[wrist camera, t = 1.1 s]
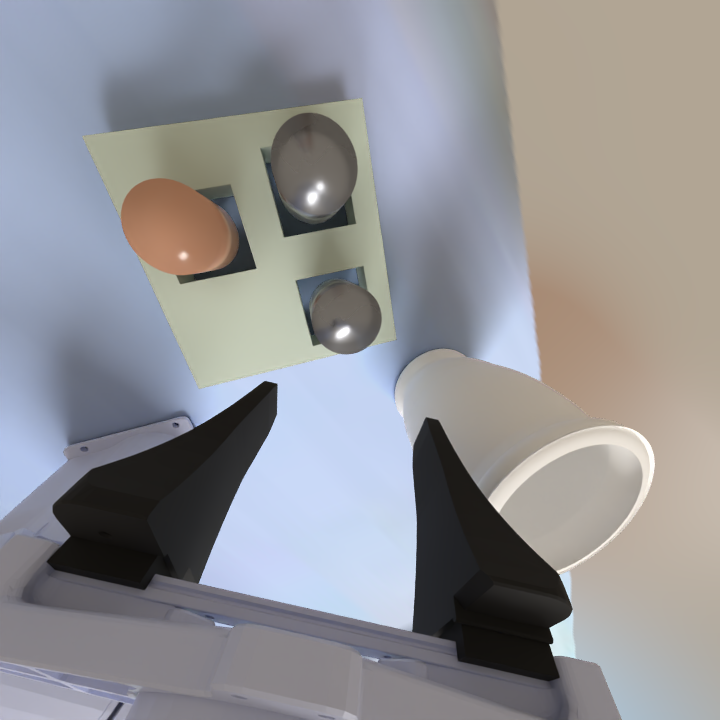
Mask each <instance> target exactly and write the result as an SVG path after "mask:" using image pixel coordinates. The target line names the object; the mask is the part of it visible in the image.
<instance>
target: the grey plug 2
mask: <svg viewBox="0 0 720 720" xmlns="http://www.w3.org/2000/svg"><path fill="white" fill-rule="evenodd" d="M309 311H310V316H311V321H312V326H313V330H314V333H315V335H316V337H317V339H318V340H319V342H320V343H321V344H322V345H323V346H324V347H325V348H327V349H328V350H330V351H332V352H335V353H339V354H353V353H357V352H360V351H362V350H364V349H365V348H367V347H368V346H369V345H370V344H371V343H372V342H373V341H374V340H375V339H376V337H377V335H378V333H379V331H380V328H381V322H382V315H381V309H380V306H379V304H378V302H377V300H376V299H375V298H374V296H373V295H372V294H371V293H370V292H368V291H367V290H365V289H364V288H362V287H360V286H358V285H356V284H354V283H352V282H350V281H347V280H344V279H330V280H327V281H325V282H323V283H321V284H320V285H319V286H318V287H317V288H316V289H315V290H314V292H313V294H312V296H311V298H310V303H309Z"/></svg>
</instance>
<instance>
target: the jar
mask: <svg viewBox="0 0 720 720" xmlns="http://www.w3.org/2000/svg"><path fill="white" fill-rule="evenodd" d="M395 404H396V407H397V409H398V411H399V413H400V414H401V416H402V417H403V418H404V424H405V429H406V432H407V435H408V438H409V440H410V443H411V446H412V450H413V445H414V443H415V440H416V438H417V436H418V434H419V431H420V429H421V427H422V424H423V422H424V420H425V418H426V417H428V418H433V419H437V420H439V422H440V423H441V425H442V427H443V429H444V431H445V433H446V435H447V437H448V439H449V441H450V442H451V444H452V446H453V448H454V450H455V451H456V453H457V455H458V457H459V458H460V460H461V462H462V463H463V465H464V467H465V468H466V470H467V471H468V473H469V474H470V476H471V477H472V479H473V480H474V482H475V483H476V485H477V486H478V487H479V489H480V490H481V491H482V493H483V494H484V495H485V497H486V498H487V499H488V501H489V502H490V503H491V504H492V506H493V507H494V508H495V509H496V510H497V512H498V513H499V514H500V515H501V516H502V517H503V519H504V520H505V521H506V522H507V523H508V524H509V525H510V526H511V527H512V529H513V530H514V531H515V532H516V533H517V534H518V535H519V536H520V537H521V538H522V539H523V540H524V541H525V542H526V543H527V544H528V545H529V546H530V547H531V548H532V549H533V550H534V551H535V552H536V553H537V554H538V555H539V556H540V557H541V558H542V559H544V560H545V561H546V562H547V563H548V564H549V565H550V566H551V567H552V568H553V569H554V570H555V571H556V572H557V573H558V574H559V575H560V574H562V573H564V572H567V571H569V570H571V569H573V568H574V567H576V566H578V565H580V564H581V563H583V562H585V561H586V560H588V559H589V558H591V557H592V556H594V555H595V554H596V553H598V552H599V551H600V550H601V549H603V548H604V547H605V546H606V545H607V544H609V543H610V542H611V541H612V540H613V539H614V538H615V537H616V536H617V535H618V534H619V533H620V532H621V531H622V530H623V529H624V528H625V527H626V526H627V525H628V523H629V522H630V521H631V519H632V518H633V517H634V516H635V514H636V513H637V511H638V510H639V508H640V507H641V505H642V503H643V501H644V500H645V498H646V496H647V493H648V491H649V489H650V486H651V483H652V479H653V475H654V466H655V464H654V463H655V462H654V454H653V451H652V448H651V446H650V444H649V443H648V441H647V440H646V439H645V438H644V437H643V436H642V435H641V434H639V433H638V432H636V431H634V430H632V429H629V428H627V427H625V426H624V425H622V424H620V423H617V422H614V421H611V420H607V419H602V418H591V417H590V416H589V415H588V414H587V413H585V412H584V411H583V410H582V409H581V408H580V407H578V406H577V405H576V404H574V403H573V402H572V401H570V400H569V399H568V398H566V397H565V396H563V395H562V394H560V393H559V392H557V391H556V390H554V389H553V388H551V387H549V386H547V385H546V384H544V383H542V382H540V381H538V380H536V379H534V378H532V377H530V376H528V375H526V374H523V373H521V372H518V371H515V370H513V369H510V368H506V367H503V366H499V365H495V364H492V363H489V362H486V361H483V360H479V359H474V358H467V357H466V356H465V355H463V354H462V353H460V352H458V351H455V350H451V349H436V350H431V351H428V352H426V353H424V354H422V355H420V356H418V357H417V358H415V359H414V360H413V361H411V362H410V363H409V364H408V365H407V366H406V368H405V369H404V370H403V372H402V373H401V375H400V377H399V379H398V381H397V384H396V388H395Z"/></svg>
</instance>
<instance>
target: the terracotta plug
mask: <svg viewBox="0 0 720 720" xmlns="http://www.w3.org/2000/svg"><path fill="white" fill-rule="evenodd" d="M121 222H122V227H123V231H124V234H125V236H126V239H127V240H128V242H129V244H130V246H131V247H132V248H133V250H134V251H135V252H136V253H137V255H138V256H139V257H141V258H142V259H143V260H144V261H145V262H146V263H148V264H149V265H151V266H152V267H154V268H156V269H158V270H160V271H163V272H166V273H169V274H174V275H190V274H196V273H202V272H208V271H214V270H219V269H222V268H224V267H226V266H227V265H229V264H230V263H231V262H232V261H233V259H234V258H235V256H236V254H237V252H238V248H239V234H238V230H237V228H236V225H235V223H234V221H233V220H232V218H231V217H230V216H229V214H228V213H227V212H226V211H225V210H224V209H223V208H221V207H220V206H219V205H217V204H215V203H214V202H212V201H211V200H209V199H208V198H206V197H204V196H203V195H201V194H200V193H198V192H197V191H195V190H193V189H192V188H190V187H188V186H187V185H185V184H183V183H180V182H178V181H175V180H171V179H165V178H155V179H149V180H145V181H143V182H141V183H139V184H137V185H136V186H134V187H133V188H132V189H131V190H130V191H129V193H128V194H127V195H126V197H125V199H124V202H123V205H122V210H121Z"/></svg>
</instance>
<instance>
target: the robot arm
mask: <svg viewBox="0 0 720 720" xmlns="http://www.w3.org/2000/svg"><path fill="white" fill-rule="evenodd" d="M276 415H277V384H276V383H272V382H267V381H264V382H263V383H261V384H260V385H259V386H257V387H256V388H255V389H253V390H252V391H251V392H249V393H248V394H247V395H245V396H244V397H243V398H241V399H240V400H238V401H237V402H236V403H234V404H233V405H231V406H230V407H228V408H227V409H225V410H224V411H222V412H221V413H219V414H218V415H216V416H214V417H213V418H211V419H210V420H208V421H206V422H204V423H203V424H201V425H199V426H197V427H195V428H194V427H193V425H192V423H191V421H190V420H189V418H187V417H185V416H181V417H177V418H173V419H169V420H166V421H162V422H158V423H154V424H150V425H146V426H142V427H138V428H135V429H131V430H127V431H123V432H119V433H115V434H111V435H108V436H104V437H100V438H96V439H92V440H88V441H84V442H80V443H77V444H73V445H69V446H68V447H66V448H65V449H64V451H63V453H64V455H65V456H66V457H67V459H68V461H67V462H66V463H65V464H64V465H63V466H62V467H60V468H59V469H58V470H57V471H56V472H55V473H54V474H52V475H51V476H50V477H49V478H48V479H47V480H46V481H45V482H43V483H42V484H41V485H40V486H39V487H38V488H37V489H36V490H34V491H33V492H32V493H31V494H30V495H29V496H28V497H27V498H25V499H24V500H23V501H22V502H21V503H20V504H19V505H17V506H16V507H15V508H14V509H13V510H12V511H11V512H10V513H8V514H7V515H6V516H5V517H4V518H3V519H2V520H1V521H0V720H622V719H621V717H620V714H619V712H618V710H617V707H616V704H615V702H614V700H613V697H612V695H611V692H610V690H609V688H608V685H607V683H606V681H605V678H604V675H603V673H602V671H601V668H600V666H598V665H597V664H596V663H592V662H587V661H582V660H578V659H574V658H570V657H564V656H554V657H553V655H552V652H551V648H550V645H549V644H552V643H553V638H552V635H551V632H550V629H549V628H550V627H552V626H554V625H555V624H557V623H559V622H561V621H563V620H565V619H566V618H568V617H569V616H570V614H571V612H572V610H573V609H572V606H571V603H570V600H569V598H568V595H567V593H566V590H565V587H564V585H563V583H562V581H561V578H560V576H559V574H558V573H557V572H556V571H555V570H554V569H553V568H552V567H551V566H550V565H549V564H548V563H547V562H546V561H545V560H544V559H542V558H541V557H540V556H539V555H538V554H537V553H536V552H535V551H534V550H533V549H532V548H531V547H530V546H529V545H528V544H527V543H526V542H525V541H524V540H523V539H522V538H521V537H520V536H519V535H518V534H517V533H516V532H515V531H514V530H513V529H512V527H511V526H510V525H509V524H508V523H507V522H506V521H505V520H504V519H503V517H502V516H501V515H500V514H499V513H498V512H497V510H496V509H495V508H494V507H493V506H492V504H491V503H490V502H489V501H488V499H487V498H486V497H485V495H484V494H483V493H482V491H481V490H480V489H479V487H478V486H477V485H476V483H475V482H474V480H473V479H472V477H471V476H470V474H469V473H468V471H467V470H466V468H465V467H464V465H463V463H462V462H461V460H460V458H459V457H458V455H457V453H456V451H455V450H454V448H453V446H452V444H451V442H450V441H449V439H448V437H447V435H446V433H445V431H444V429H443V427H442V425H441V423H440V422H439V420H437V419H433V418H428V417H426V418H425V420H424V422H423V424H422V427H421V429H420V431H419V434H418V436H417V438H416V440H415V443H414V445H413V478H414V490H415V501H416V514H417V551H416V580H415V600H414V616H413V630H412V632H410V631H406V630H401V629H397V628H392V627H388V626H384V625H379V624H375V623H370V622H366V621H361V620H357V619H353V618H348V617H344V616H339V615H335V614H330V613H326V612H322V611H317V610H313V609H308V608H304V607H299V606H295V605H290V604H286V603H282V602H277V601H273V600H268V599H264V598H259V597H255V596H251V595H246V594H242V593H237V592H233V591H228V590H224V589H220V588H215V587H211V586H206V585H202V584H198V583H199V581H200V578H201V576H202V573H203V571H204V568H205V565H206V563H207V560H208V558H209V555H210V553H211V550H212V548H213V545H214V543H215V541H216V538H217V536H218V533H219V531H220V528H221V526H222V524H223V521H224V519H225V517H226V515H227V512H228V510H229V508H230V505H231V503H232V501H233V499H234V497H235V494H236V492H237V490H238V488H239V486H240V483H241V482H242V480H243V478H244V476H245V474H246V472H247V470H248V469H249V467H250V465H251V464H252V462H253V460H254V458H255V457H256V455H257V453H258V451H259V450H260V448H261V446H262V445H263V443H264V441H265V439H266V438H267V436H268V434H269V432H270V430H271V427H272V425H273V423H274V420H275V418H276ZM174 423H178V424H179V425H175V424H174ZM85 447H87V448H88V449H86V448H85ZM215 622H217V623H222V624H226V625H231V626H234V627H233V628H228V627H220V626H215ZM361 655H363V656H368V657H372V658H377V659H379V661H378V662H375V661H372V660H369V659H366V658H363V657H361Z"/></svg>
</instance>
